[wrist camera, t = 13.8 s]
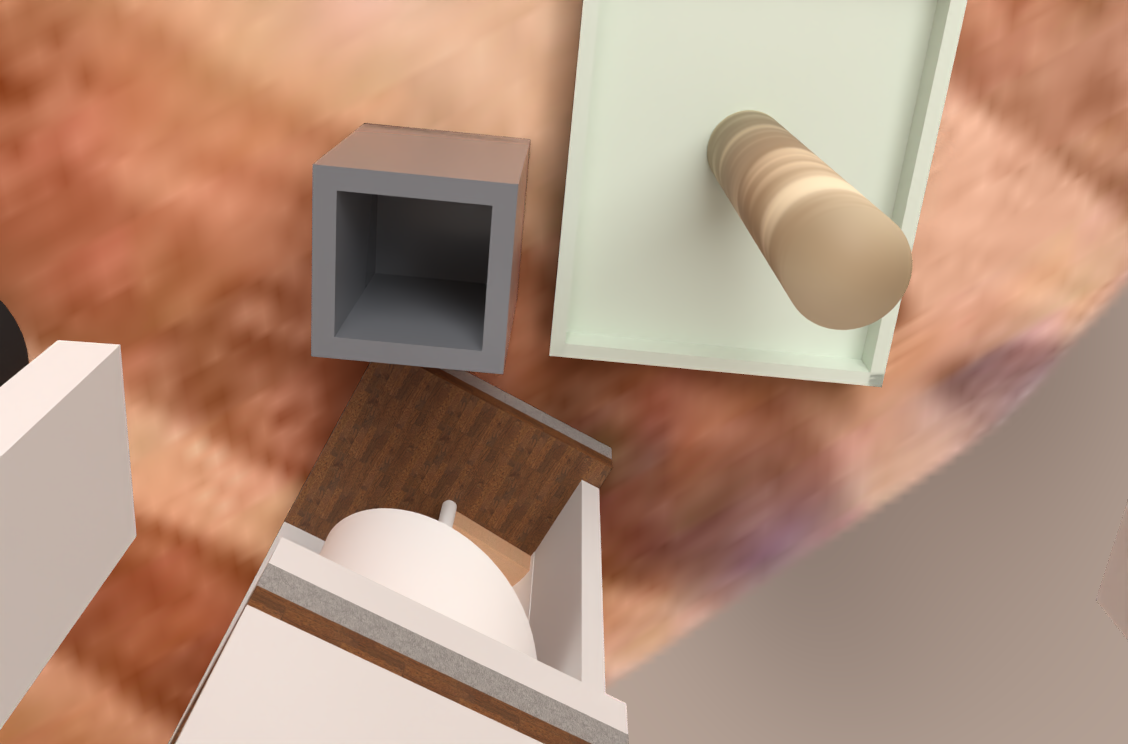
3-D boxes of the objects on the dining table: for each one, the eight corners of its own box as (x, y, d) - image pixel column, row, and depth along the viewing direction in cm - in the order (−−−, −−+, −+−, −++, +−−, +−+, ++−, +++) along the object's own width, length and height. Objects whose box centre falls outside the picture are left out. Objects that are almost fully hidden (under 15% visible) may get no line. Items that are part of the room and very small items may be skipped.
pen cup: (364, 123, 44) (312, 164, 35) (530, 139, 44) (518, 184, 35) (360, 282, 46) (311, 356, 38) (517, 297, 46) (503, 374, 38)
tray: (593, -113, 40) (594, -117, 38) (961, -75, 40) (984, -77, 38) (551, 335, 47) (549, 355, 44) (866, 365, 47) (881, 387, 45)
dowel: (713, 106, 42) (797, 201, 26) (793, 114, 42) (924, 214, 26) (701, 186, 43) (774, 323, 27) (779, 194, 43) (897, 335, 28)
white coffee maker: (611, 448, 49) (669, 1446, 16) (500, 617, 52) (365, 1720, 20) (387, 329, 47) (-55, 1193, 14) (287, 514, 50) (-252, 1546, 18)
